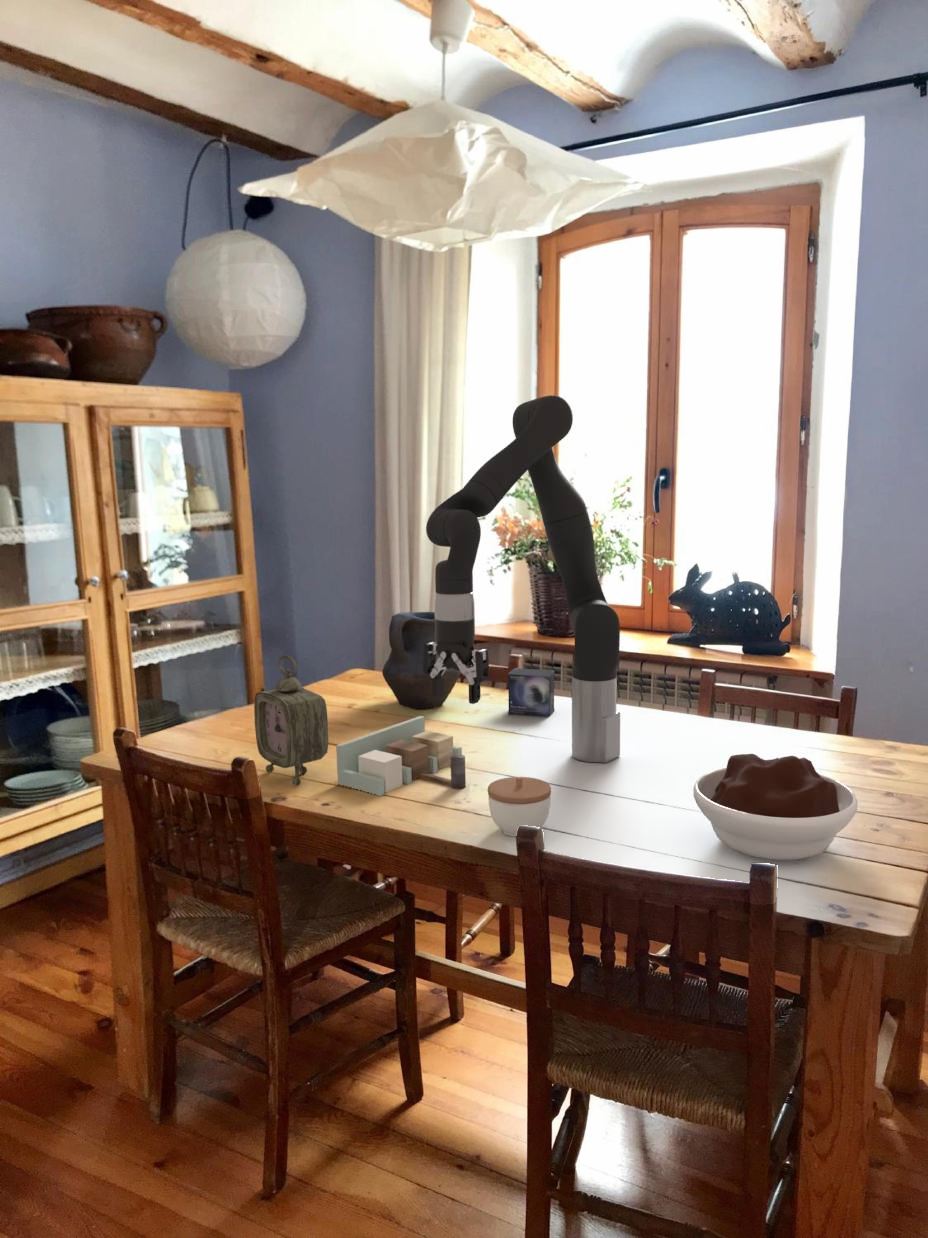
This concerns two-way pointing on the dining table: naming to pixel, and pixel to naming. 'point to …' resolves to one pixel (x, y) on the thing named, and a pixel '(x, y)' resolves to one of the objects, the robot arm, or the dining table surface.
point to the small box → (531, 692)
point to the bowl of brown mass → (774, 806)
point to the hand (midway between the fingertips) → (456, 699)
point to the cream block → (382, 767)
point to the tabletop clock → (290, 724)
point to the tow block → (418, 762)
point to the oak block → (437, 746)
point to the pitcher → (414, 661)
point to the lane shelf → (378, 741)
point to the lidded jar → (519, 803)
